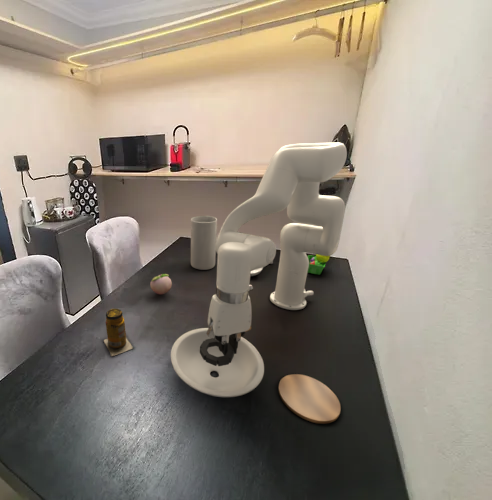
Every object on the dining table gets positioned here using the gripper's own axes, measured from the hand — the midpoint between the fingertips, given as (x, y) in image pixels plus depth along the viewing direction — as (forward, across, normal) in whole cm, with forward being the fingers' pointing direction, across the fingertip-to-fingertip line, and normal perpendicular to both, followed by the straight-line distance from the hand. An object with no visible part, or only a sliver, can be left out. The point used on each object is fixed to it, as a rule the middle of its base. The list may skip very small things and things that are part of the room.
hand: (227, 350), depth 71 cm
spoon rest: (+8, -43, -54) cm, 70 cm away
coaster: (+8, -15, +12) cm, 21 cm away
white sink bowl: (+8, +4, 0) cm, 9 cm away
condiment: (+8, +29, -19) cm, 35 cm away
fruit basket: (+8, -69, -45) cm, 83 cm away
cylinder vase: (+8, -21, -67) cm, 71 cm away
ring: (0, +3, 0) cm, 3 cm away
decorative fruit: (+8, +7, -45) cm, 46 cm away
